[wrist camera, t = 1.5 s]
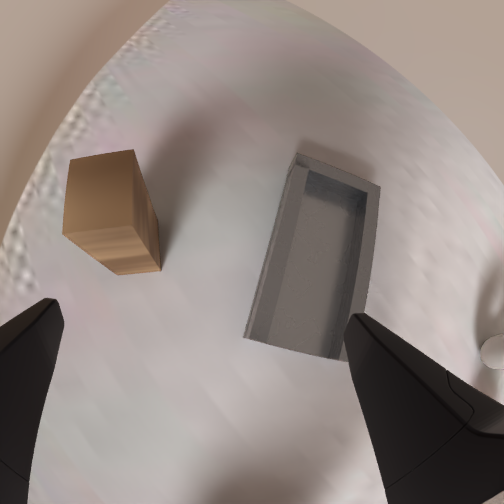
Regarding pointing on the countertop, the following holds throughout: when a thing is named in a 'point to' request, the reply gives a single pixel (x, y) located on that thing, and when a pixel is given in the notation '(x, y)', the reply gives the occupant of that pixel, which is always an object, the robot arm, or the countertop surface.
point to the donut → (493, 352)
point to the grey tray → (316, 260)
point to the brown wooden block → (112, 213)
